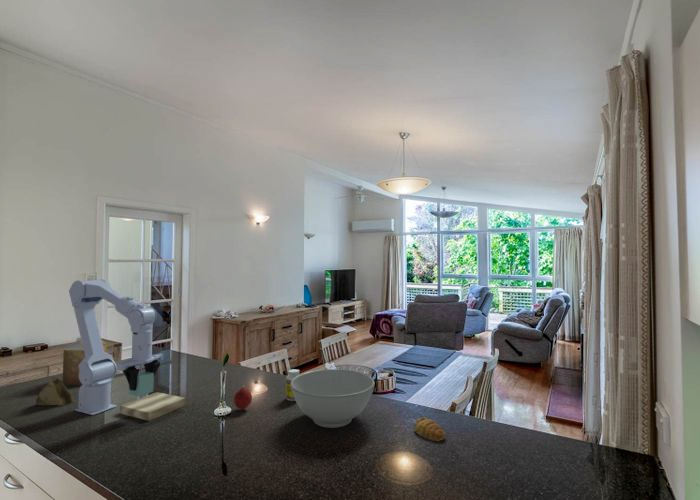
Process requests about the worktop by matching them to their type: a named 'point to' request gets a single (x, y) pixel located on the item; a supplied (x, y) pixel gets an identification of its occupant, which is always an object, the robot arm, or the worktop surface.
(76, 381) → the tan tall block
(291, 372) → the supplement bottle
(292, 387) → the decorative bowl
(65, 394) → the rock
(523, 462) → the worktop surface
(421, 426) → the pastry
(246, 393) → the onion
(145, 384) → the teal block
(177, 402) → the birch base board
